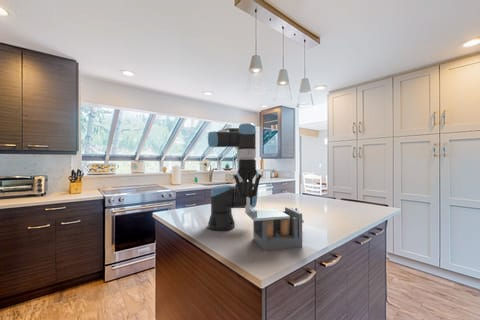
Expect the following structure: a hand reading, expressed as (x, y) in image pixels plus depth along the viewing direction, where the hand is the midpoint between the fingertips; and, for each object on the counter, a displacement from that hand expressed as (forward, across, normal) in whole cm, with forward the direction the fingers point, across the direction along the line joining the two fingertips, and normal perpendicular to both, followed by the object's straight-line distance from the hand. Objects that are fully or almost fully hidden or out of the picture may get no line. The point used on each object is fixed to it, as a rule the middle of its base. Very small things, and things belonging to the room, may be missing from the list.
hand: (247, 212), depth 96 cm
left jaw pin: (+15, +10, 0) cm, 18 cm away
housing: (+15, +14, 0) cm, 20 cm away
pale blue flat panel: (+2, +9, 0) cm, 9 cm away
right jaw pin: (+15, +18, 0) cm, 23 cm away
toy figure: (+15, +30, +14) cm, 36 cm away
